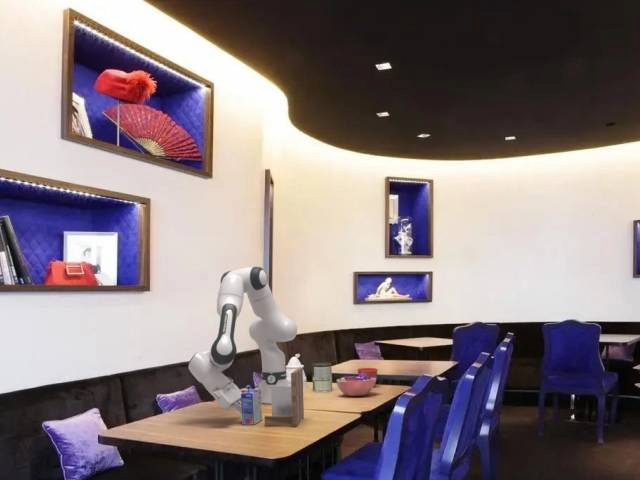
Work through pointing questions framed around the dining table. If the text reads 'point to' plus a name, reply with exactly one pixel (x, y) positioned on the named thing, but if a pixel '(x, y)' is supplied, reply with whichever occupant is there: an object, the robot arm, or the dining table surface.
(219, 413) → the dining table surface
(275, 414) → the steel bookend
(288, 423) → the walnut shelf
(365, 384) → the cell model
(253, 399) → the ink cartridge box
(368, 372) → the flower pot
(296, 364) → the honey pot
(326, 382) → the coffee can
